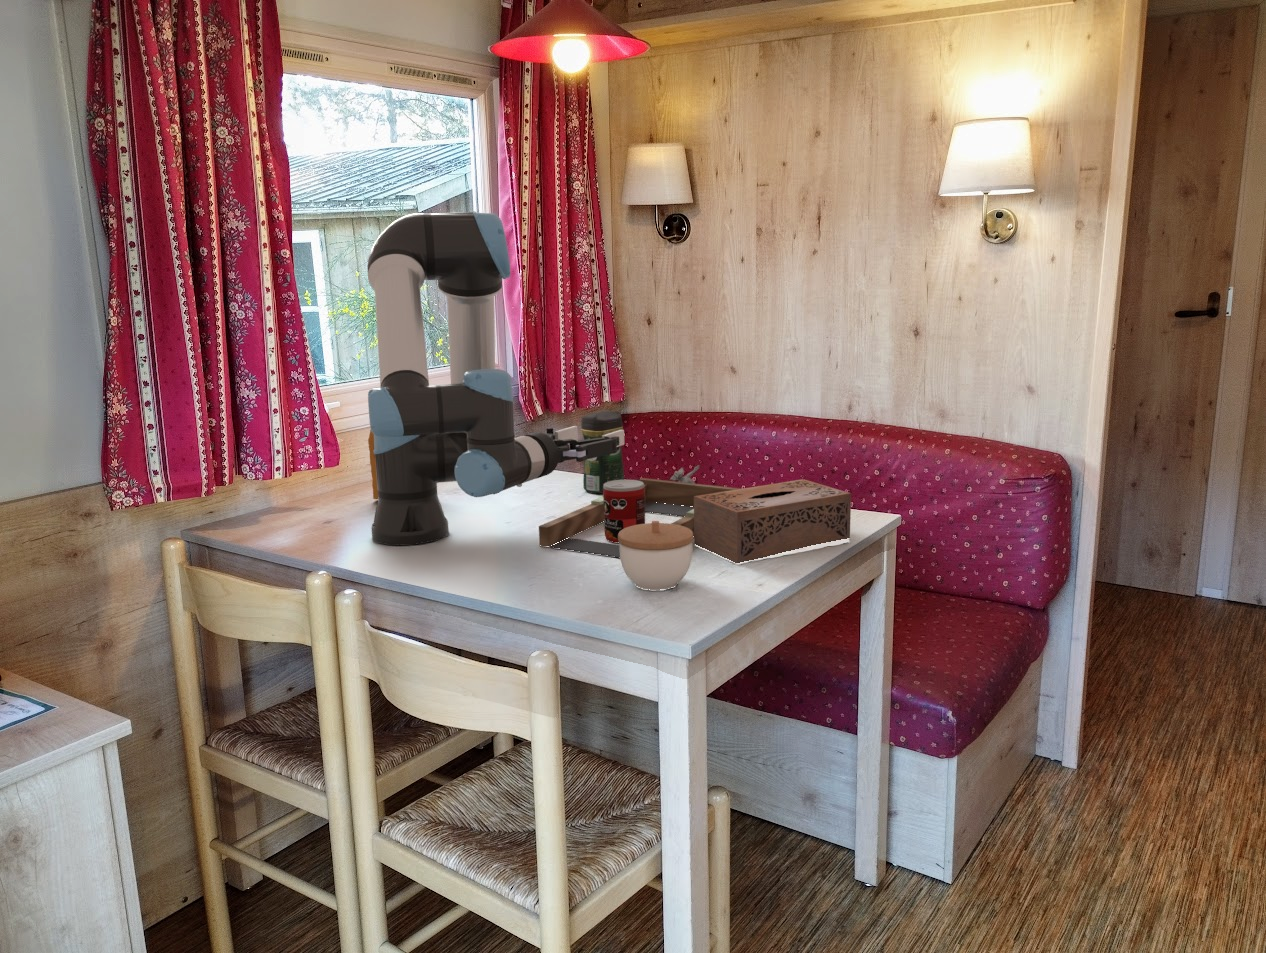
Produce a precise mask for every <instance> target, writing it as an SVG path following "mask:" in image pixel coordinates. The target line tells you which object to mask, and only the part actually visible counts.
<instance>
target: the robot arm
mask: <svg viewBox="0 0 1266 953" xmlns="http://www.w3.org/2000/svg"><path fill="white" fill-rule="evenodd" d="M367 259H368V260H367V265H366V266H367V268H366V269H367V280H368V284H369V285H370V287H371V289H373V290H374V298H375V300H374V301H375V302H374V303H375V315H376V316H375V318H376V319H375V320H376V332H377V333H376V335H377V336H376V337H377V350H378V351H377V353H378V368H379V385H380V386H379V387H378V388H376V387H375V388H371V389H370V390H369V391H368V392H367V393H368V394H367V401H368V402H367V403H368V404H367V405H368V416H369V418H368V419H369V428H370V430H371V432H372V433H373V434H374V451H373V452H374V454H375V460H376V475H377V489H378V499H377V505H376V508H375V512H374V518H373V523H372V524H371V539H372V540H373V541H374V542H376V543H378V544H381V545H388V546H410V545H411V546H412V545H421V544H427V543H431V542H435V541H438V540H440V539H444V538H445V537H446V536H448V535H449V521H448V518H447V517H446V516H445V513H444V510H443V507H442V503H441V502H440V499H439V496H438V484H439V483H451V482H456V483H457V485H458V487H459V488H460V490H461V491H463V492H464V493H465V494H467V495H468V496H470V497H474V498H482V497H486V496H489V495H497V494H500V493H501V492H503V491H505V490H508V489H510V488H513V487H518V488H521V487H522V486H523V484H524V483H528V482H530V481H533V480H535V479H540V478H542V477H544V476H545V477H546V476H548V475H550V474H551V473H553V472H554V471H555V469H556V468H557V466H558V465H559V464H561V463H564V462H566V461H572V460H576V462H578V463H581V462H584V460H587V459H590V458H595V457H599V456H604V455H608V456H609V455H610V454H614V453H617V447H619V446H621V447H622V446H624V445H625V430H624V429H622V430H618V431H615V432H612V433H608V434H605V435H602V438H594V439H587V440H584V439H581V440H579V434H578V431H579V430H578V425H573V426H569V427H565V428H562V429H559V430H555V431H554V428H551V427H550V428H549V427H547V428H546V433H544V432H542V431H535V432H531V433H528V434H524V435H520V436H517V437H516V436H515V435H516V434H515V414H514V413H515V412H514V410H515V409H514V402H515V399H514V395H513V394H514V393H513V386H512V384H513V383H512V377H511V374H509V372H507V371H506V370H504V369H501V368H500V369H499V368H498V369H497V368H496V339H495V338H496V331H495V330H496V329H495V323H496V322H495V321H496V320H495V296H496V295H497V294H499V293H500V291H502V289H503V280H506V279H509V278H510V277H511V261H510V255H509V249H508V243H507V238H506V233H505V228H504V225H503V222H502V220H501V217H500V216H498V215H497V214H496V213H493V212H477V211H471V212H469V211H468V212H439V213H437V212H436V213H423V212H419V213H418V212H415V213H411V214H408V215H407V214H406V215H404V216H402V217H400V218H398V219H396V220H394V221H393V222H392V223H390V224H389V225H388V226H387V227H386V228H385V229H384V230H383V231H382V232H381V233H380V234H379V236H378V237H377V239H376V240H375V241H374V244H373V245H372V248H371V250H370V253H369V255H368V258H367ZM425 281H437V285H438V286H437V287H438V290H439V292H441V293H442V294H443V295H444V296H446V298H447V299H446V300H447V301H446V302H447V321H448V323H447V326H448V346H449V369H450V370H449V371H450V384H438V385H437V384H436V385H435V384H434V385H430V380H429V371H428V370H429V369H428V361H427V349H426V341H425V340H426V339H425V327H424V319H423V318H424V317H423V308H422V297H421V288H422V287H423V285H424V283H425Z"/></svg>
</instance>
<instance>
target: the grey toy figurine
mask: <svg viewBox="0 0 1266 953" xmlns="http://www.w3.org/2000/svg"><path fill="white" fill-rule="evenodd" d="M699 469H700V465H699V464H698V465H696V466H694V469H693V470H692V471H690V472H688V473H687V474H686V475H684V473H685V470H684V467H681V468H679V469H678V471H677V470H676V471H674V473H673V475H672V476H671V477H670V479H669V481H674V482H676V481H677V482H684V483H693V484H696V483H695V481H694V479H692V478H691V477H692V476H693V475H694V473H696V472H697V471H698V470H699ZM683 475H684V476H683Z"/></svg>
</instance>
